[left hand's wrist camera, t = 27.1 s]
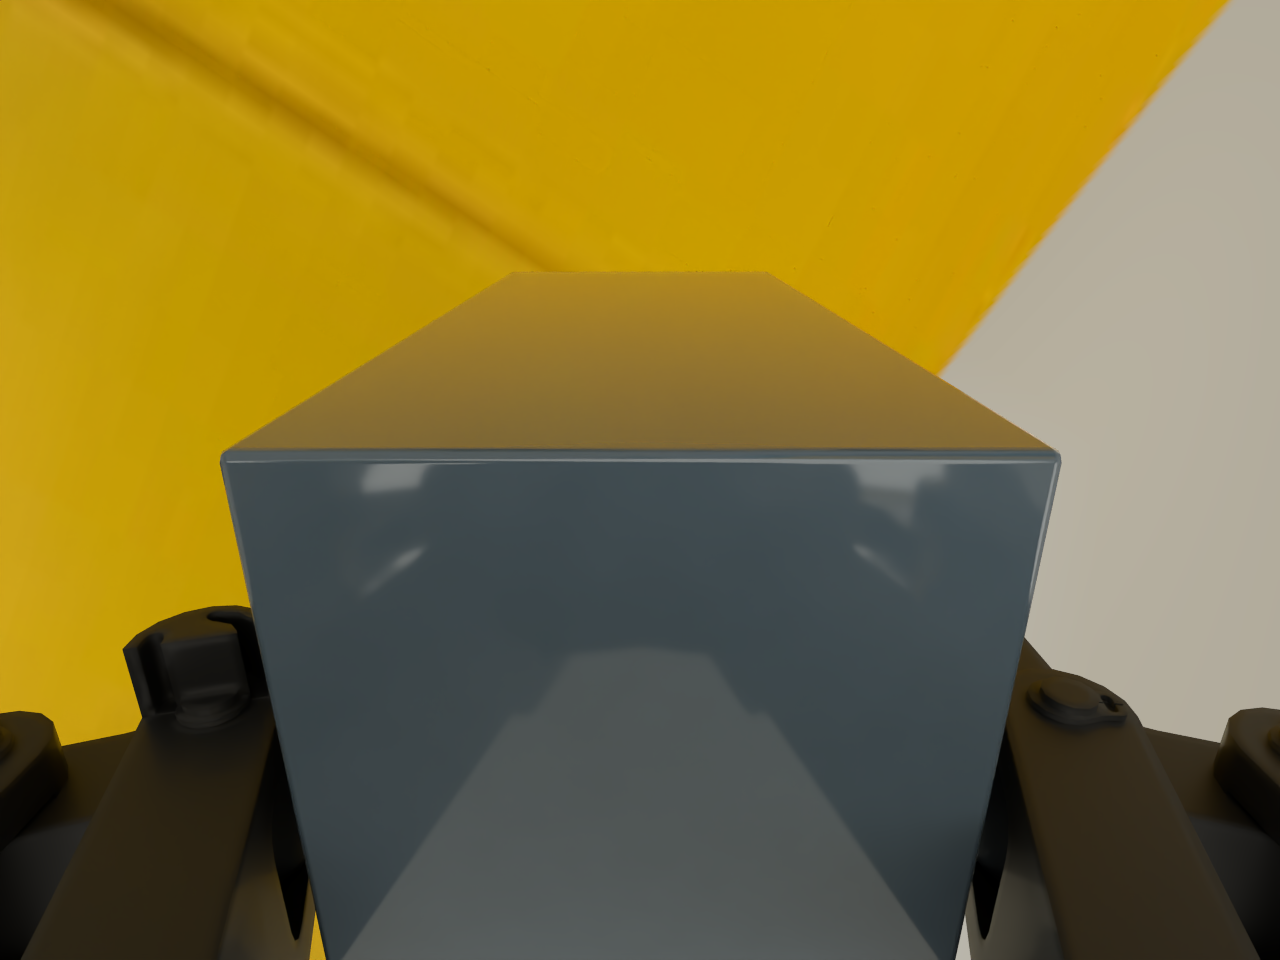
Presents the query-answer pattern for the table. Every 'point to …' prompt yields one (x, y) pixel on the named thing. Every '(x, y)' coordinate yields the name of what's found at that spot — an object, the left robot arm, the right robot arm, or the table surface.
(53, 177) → the table surface
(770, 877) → the brick
